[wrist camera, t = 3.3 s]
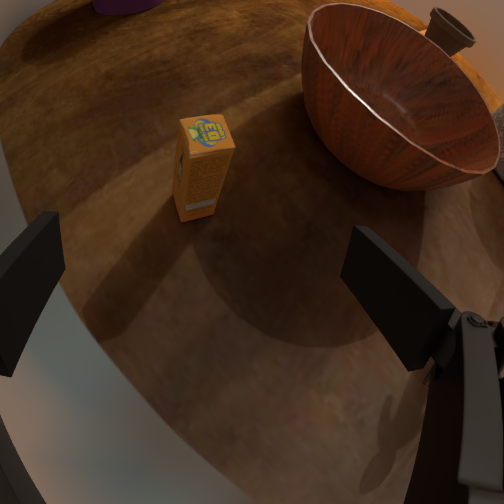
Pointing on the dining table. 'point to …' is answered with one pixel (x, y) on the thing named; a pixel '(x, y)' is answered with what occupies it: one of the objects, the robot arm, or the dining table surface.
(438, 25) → the flower pot
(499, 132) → the planter
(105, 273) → the dining table surface
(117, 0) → the jar
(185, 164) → the supplement box
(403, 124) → the bowl
